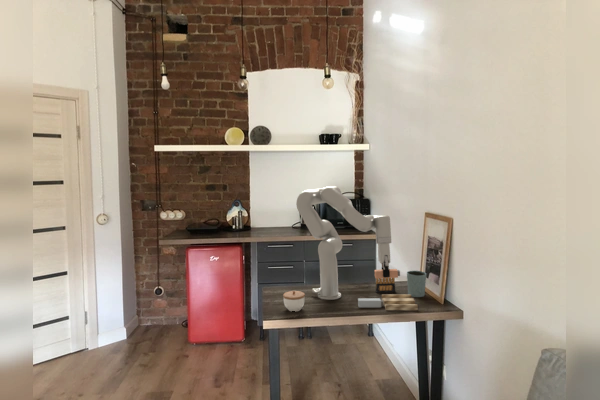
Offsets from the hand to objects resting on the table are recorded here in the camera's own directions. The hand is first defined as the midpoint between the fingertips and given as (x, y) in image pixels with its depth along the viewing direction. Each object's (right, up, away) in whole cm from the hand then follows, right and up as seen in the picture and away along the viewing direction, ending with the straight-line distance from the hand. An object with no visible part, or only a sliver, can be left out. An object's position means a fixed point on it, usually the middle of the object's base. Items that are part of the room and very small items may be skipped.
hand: (385, 275), depth 190 cm
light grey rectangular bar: (-9, -15, -2) cm, 17 cm away
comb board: (+6, -14, -1) cm, 16 cm away
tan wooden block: (0, -1, 0) cm, 1 cm away
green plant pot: (+20, -13, +14) cm, 27 cm away
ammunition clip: (+4, -13, +20) cm, 25 cm away
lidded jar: (-46, -16, -3) cm, 49 cm away
